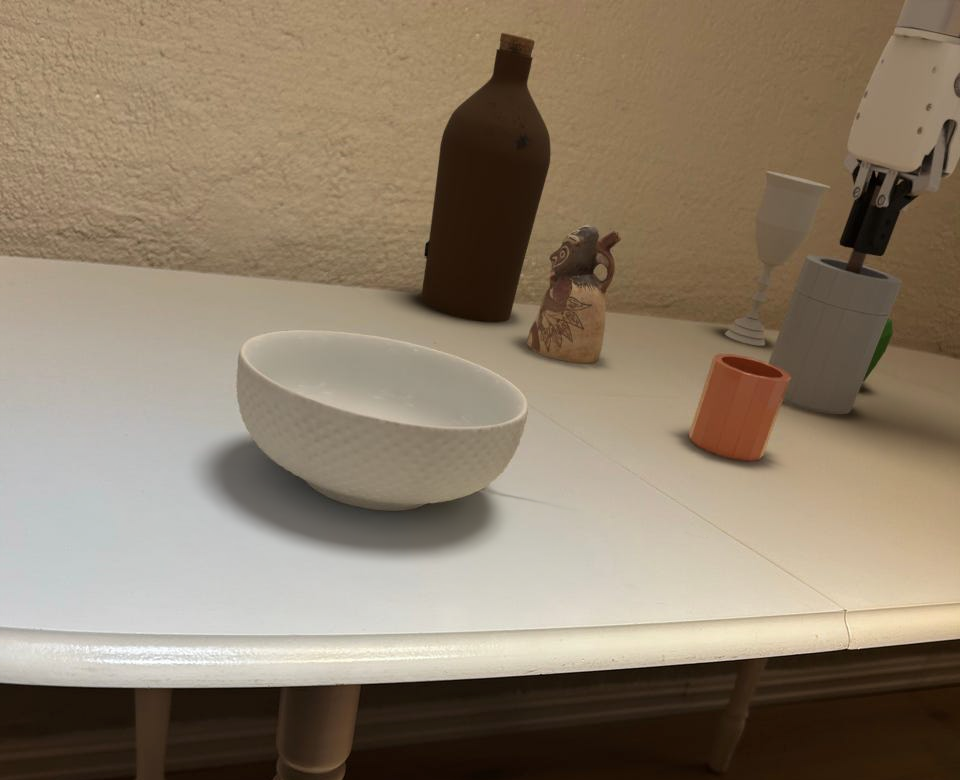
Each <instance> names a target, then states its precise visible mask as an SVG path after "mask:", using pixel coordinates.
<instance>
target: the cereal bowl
mask: <svg viewBox="0 0 960 780" xmlns="http://www.w3.org/2000/svg"><path fill="white" fill-rule="evenodd" d="M237 357H238V358H237V368H236V398H237V403H238V410H239V414H240V415H241V419H242V422H243V423H244V426H245V429H246V430H247V432H248V433H249V435H250V437H251V439H252V440H253V441H254V442H255V443H256V445H257V447H258V448H259V449H260V450H262V452H263V453H264V454H265V455H266V456H268V458H270V459H271V460H272V461H274V462H275V463H276V464H277V465H278V466H281V467H282V468H283V469H284V470H285V471H288V472H290V473H292V475H294V476H297V477H299V478H301V480H304V481H305V482H306V484H307V485H308V486H309V487H310V488H312V489H313V490H315V491H316V492H317V493H319V494H321V495H323V496H325V497H327V498H329V499H331V500H334V501H336V502H340V503H343V504H346V505H349V506H352V507H357V508H362V509H369V510H375V511H392V512H394V511H407V510H414V509H418V508H421V507H423V506H425V505H427V504H436V503H444V502H451V501H454V500H457V499H462V498H465V497H467V496H470V495H473V494H474V493H476V492H479V491H481V490H482V489H484V488H486V487H488V486H489V485H490V484H491V483H492V482H494V481H496V480H497V479H498V477H499V476H501V474H503V473H504V471H505V470H506V468H507V467H508V466H509V464H510V463H511V461H512V459H513V458H514V455H515V454H516V451H517V449H518V447H519V446H520V444H521V438H522V437H523V433H524V431H525V429H524V428H525V427H526V424H527V419H528V415H529V404H528V403H529V402H528V400H527V398H526V396H525V395H524V393H522V391H521V390H520V389H519V388H518V387H517V386H515V385H514V384H513V383H512V382H510V381H509V380H507V379H506V378H504V377H503V376H501V375H499V374H497V373H496V372H494V371H493V370H491V369H488V368H486V367H484V366H482V365H480V364H478V363H475V362H472V361H469V360H467V359H465V358H462V357H460V356H456V355H453V354H452V353H451V354H450V353H447V352H444V351H441V350H438V349H435V348H432V347H427V346H424V345H420V344H415V343H412V342H408V341H403V340H398V339H392V338H389V337H382V336H377V335H370V334H362V333H355V332H345V331H334V330H332V331H331V330H315V329H311V330H309V329H308V330H307V329H305V330H303V329H301V330H299V329H298V330H297V329H296V330H294V329H293V330H279V331H272V332H265V333H261V334H258V335H255V336H253V337H250V338H248V339H247V340H245V341H244V343H242V345H241V346H240V349H239V351H238V356H237Z"/></svg>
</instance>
